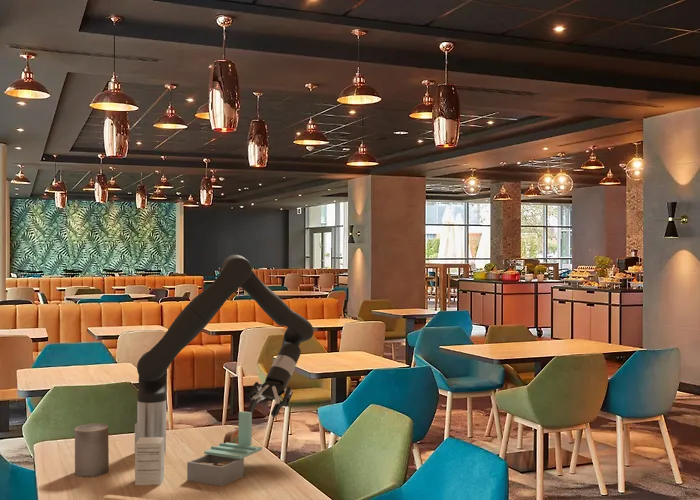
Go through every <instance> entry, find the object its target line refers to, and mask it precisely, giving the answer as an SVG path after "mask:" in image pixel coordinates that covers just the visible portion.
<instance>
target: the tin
mask: <svg viewBox="0 0 700 500" xmlns="http://www.w3.org/2000/svg"><path fill="white" fill-rule="evenodd" d="M227 442H228V443H235V444H239V426H238V427H233V429H231V430H229V431H228V432H226V434H225V435H224V438H223V443H227Z"/></svg>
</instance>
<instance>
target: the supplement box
mask: <svg viewBox="0 0 700 500" xmlns="http://www.w3.org/2000/svg"><path fill="white" fill-rule="evenodd" d="M164 479H165V453H164V437H141V438H139V439H138V441H137V442H136V443H135V442H134V485H135V486H160V485H162V483H163V482H164Z"/></svg>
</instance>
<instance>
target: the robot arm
mask: <svg viewBox="0 0 700 500" xmlns="http://www.w3.org/2000/svg"><path fill="white" fill-rule="evenodd" d="M240 288H241V289H243V291H245V292H246V293H247V294H248V295H249V296H250V297H251V298H252V299H253V300H254V302H255V303H256V304H257V305H258V306H259V307H260V308H261V309H262V310H263V312H264V313H265V314H266V315H267V316H268V317H269V318H270V319H271V320H273V323H275V324H277V325H278V326H280V327H287V328H286V330H285V332H284V333H283V334H284V335H283V337H282V342H281V347H280V350H279V352H278V353H277V355H276V358H275V359H274V360H273V363H272V365H271V367H270V368H269V371H268V372H267V374H266V377H265V380H264V382H263V384H262V383H259V382H258V381H255V382H254V384H253V386H252V388H251V390H250V391H249V393H248V395H247V397H248V398H249V399H250V403H249V405H248V407H247V408H248V412H252V414H253V413H254V412H255V409H256V407H257V405H258V403H259V402H260V401H264V400H265V399H268V400H270V399H271V400H275V403H274V406H273V408H272V410H271V413H270V416H271V417H273V418H276V417H277V416H278V415H279V413H280V411H281V408H283V407H285V408H286V407H287V408H288V407H289V406H288V405H289V403H290V401H291V399H292V396H293V393H294V392H293V390H292V388H291V387H290V386H288V384H289V383H290V380H291V378H292V377H293V374H294V372H295V369H296V367H297V364H298V362H299V359H300V357H301V354H302V353H301V352H302V350H301V348H300V345H301V344H302V343H304V342H306V341H309V340H311V339H312V338H313V337H314V331H315V329H314V327H313V325H312V324H311V322H310V321H309V320H308V319H306V318H305V317H304V316H302V315H301V314H299V313H297V312H295V311H294V310H292V309H291V308H290V306H288V304H287V303H285V302H284V300H283V299H281V298H280V297H279V296H278V295H277V294H276V293H275V292H274V291H273V290H271V289H270V288H269V287H268V286H267V285H266V284H265V283H264V282H263V281H262V280H261V279H260V278H259V277H258V276H257V274H256V273H255V272H254V270H253V269H252V265H251V262H250V261H249V260H248V259H246V257H244V256H243V255H239V254H232V255H229V256H227V257H226V258H225V259H224V261H223V263H222V266H221V271H220V273H219V274H218V276H217V277H216V278H215V279H214V280H213V282H212V283H211V284H210V285H209V286H208V287H207V288H206V289H204V290H203V291H201V292H200V293H198V295H196V296H195V297H194V298H193V299H192V300H191V301H190V302H188V304H187V305H186V306H185V307H184V308H183V309H182V310H181V311H180V313H179V314H178V315H177V317H176V318H175V319H174V321H173V322H172V323H171V325H170V326H169V327H168V329H167V330H166V331H165V333H164V335H163V336H162V338H161V339H160V340H159V341H158V342H157V343H156V344H155V345H154V346H153V347H152V348H150V350H149V351H146V352H144V353H143V354H142V355H141V357H140V358H139V360H138V362H137V364H136V371H137V374H138V387H137V406H136V407H137V415H136V416H137V421H136V423H134V444H135V443H136V442H137V441H138V439H139V438H141V437H164V454H165V453H166V451H167V450H166V449H167V391H168V390H167V389H168V368H169V366H170V365H172V362H173V361H174V360H175V358H176V357H177V356H178V355H179V354H180V353H181V352H182V351H183V350H184V349H185V348H186V347H187V346H188V345H189V344H190V343H191V342H192V341H193V340H194V339H196V338H197V336H199V334H201V332H202V331H203V330H204V329H205V327H207V325H209V323H210V322H211V320H212V319H213V318H214V317H215V316H216V314H218V312H219V311H220V310H221V308H222V307H223V305H224V304H225V303H226V301H228V299H229V298H231V296H232V295H234V293H235V292H236V291H237V290H239V289H240ZM283 394H284V395H283ZM282 395H283V398H281V396H282Z"/></svg>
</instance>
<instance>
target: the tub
mask: <svg viewBox="0 0 700 500" xmlns="http://www.w3.org/2000/svg"><path fill="white" fill-rule="evenodd" d="M226 461H230V462H231V463H228V464H226V465H224V466H217V464H218V463H222V462H226ZM186 463H187V465H186V466H187V471H186V474H187V475H186V480H187V481H189V482H194V483H202V484H205V485H213V486H217V487H223V486H226V485H228V484H230V483H233V482H234V481H236V480H239V479H241V478H242V477H244V475H245V474H244V472H245V465H244V464H245V458H242V459H235V458H228V457H222V456H215V455H208V454H204V455H202V456H200V457H197V458H194V459H191V460H190V461H187V462H186ZM202 463H213V464H214V465H208V464H202Z"/></svg>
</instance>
